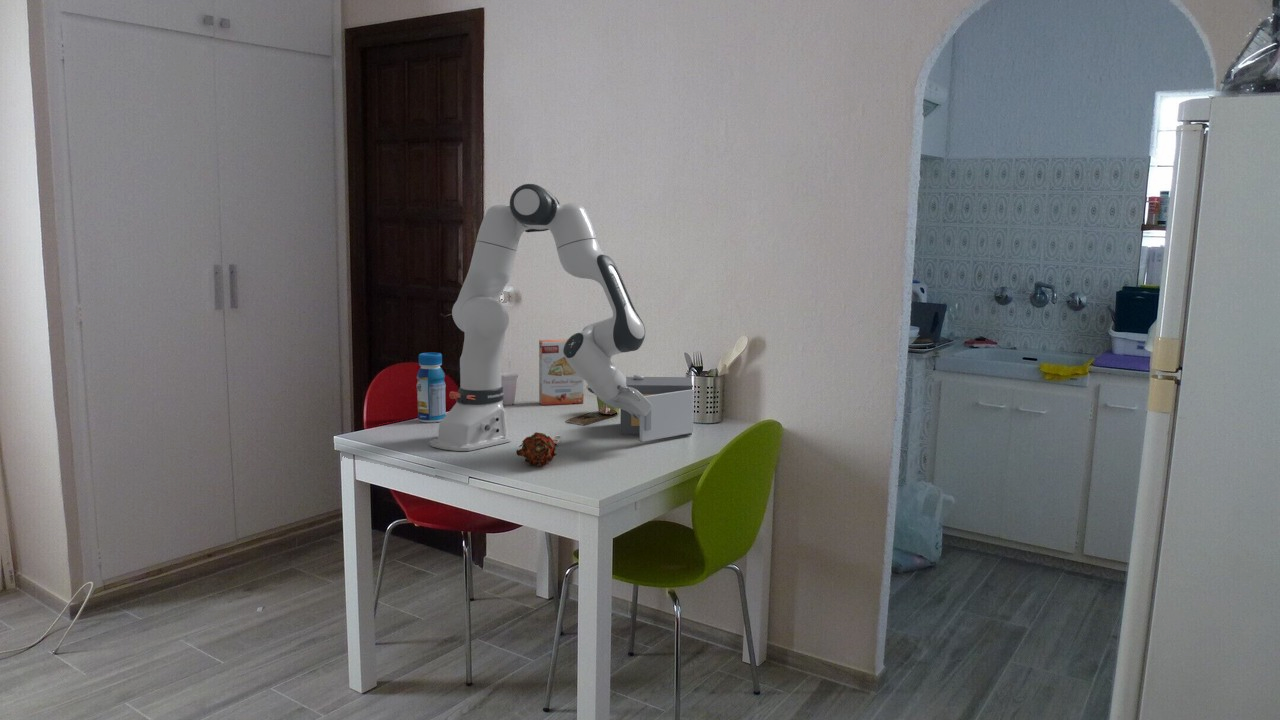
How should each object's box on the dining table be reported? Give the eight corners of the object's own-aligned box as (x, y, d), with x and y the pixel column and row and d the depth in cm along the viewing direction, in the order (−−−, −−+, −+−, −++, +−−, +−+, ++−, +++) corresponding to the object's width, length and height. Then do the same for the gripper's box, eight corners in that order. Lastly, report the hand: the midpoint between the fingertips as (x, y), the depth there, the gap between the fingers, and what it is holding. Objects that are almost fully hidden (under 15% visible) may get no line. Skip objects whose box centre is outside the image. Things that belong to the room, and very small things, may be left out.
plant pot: (591, 411, 290) (591, 384, 289) (620, 410, 292) (621, 383, 291) (595, 417, 281) (595, 389, 280) (626, 416, 283) (626, 388, 282)
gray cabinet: (691, 435, 258) (692, 382, 256) (620, 434, 258) (620, 381, 256) (689, 423, 272) (690, 373, 270) (621, 423, 273) (621, 373, 270)
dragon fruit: (546, 477, 221) (526, 472, 231) (570, 452, 224) (549, 449, 235) (525, 451, 218) (505, 447, 228) (549, 426, 222) (529, 424, 232)
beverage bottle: (443, 423, 271) (441, 356, 268) (414, 423, 271) (412, 355, 268) (449, 417, 280) (447, 351, 277) (421, 417, 280) (419, 351, 277)
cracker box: (541, 406, 298) (541, 341, 295) (538, 402, 304) (538, 339, 300) (584, 404, 302) (584, 340, 298) (580, 400, 307) (580, 338, 304)
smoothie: (517, 405, 298) (517, 362, 296) (497, 405, 298) (497, 362, 296) (519, 401, 304) (518, 359, 302) (499, 401, 304) (499, 359, 302)
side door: (695, 433, 256) (695, 390, 255) (644, 442, 245) (644, 397, 244) (690, 431, 258) (690, 389, 256) (639, 440, 247) (639, 396, 245)
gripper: (638, 380, 234) (669, 414, 241) (597, 369, 251) (627, 402, 258) (623, 399, 233) (654, 433, 239) (582, 387, 250) (613, 419, 256)
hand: (639, 417), depth 249 cm, fingers closed
